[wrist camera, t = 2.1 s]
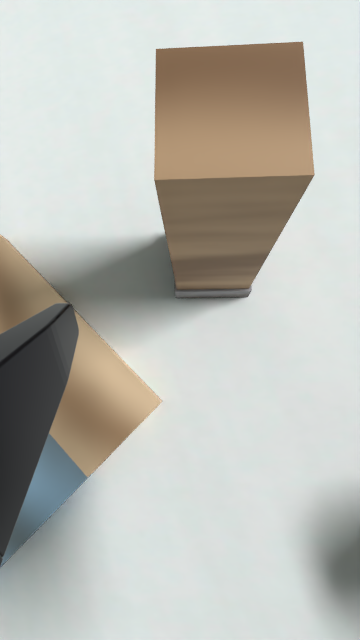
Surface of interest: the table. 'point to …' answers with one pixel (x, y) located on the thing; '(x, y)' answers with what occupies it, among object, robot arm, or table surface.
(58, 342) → the robot arm
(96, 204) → the table surface
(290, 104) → the wooden pillar on base
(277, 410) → the table surface
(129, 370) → the board
